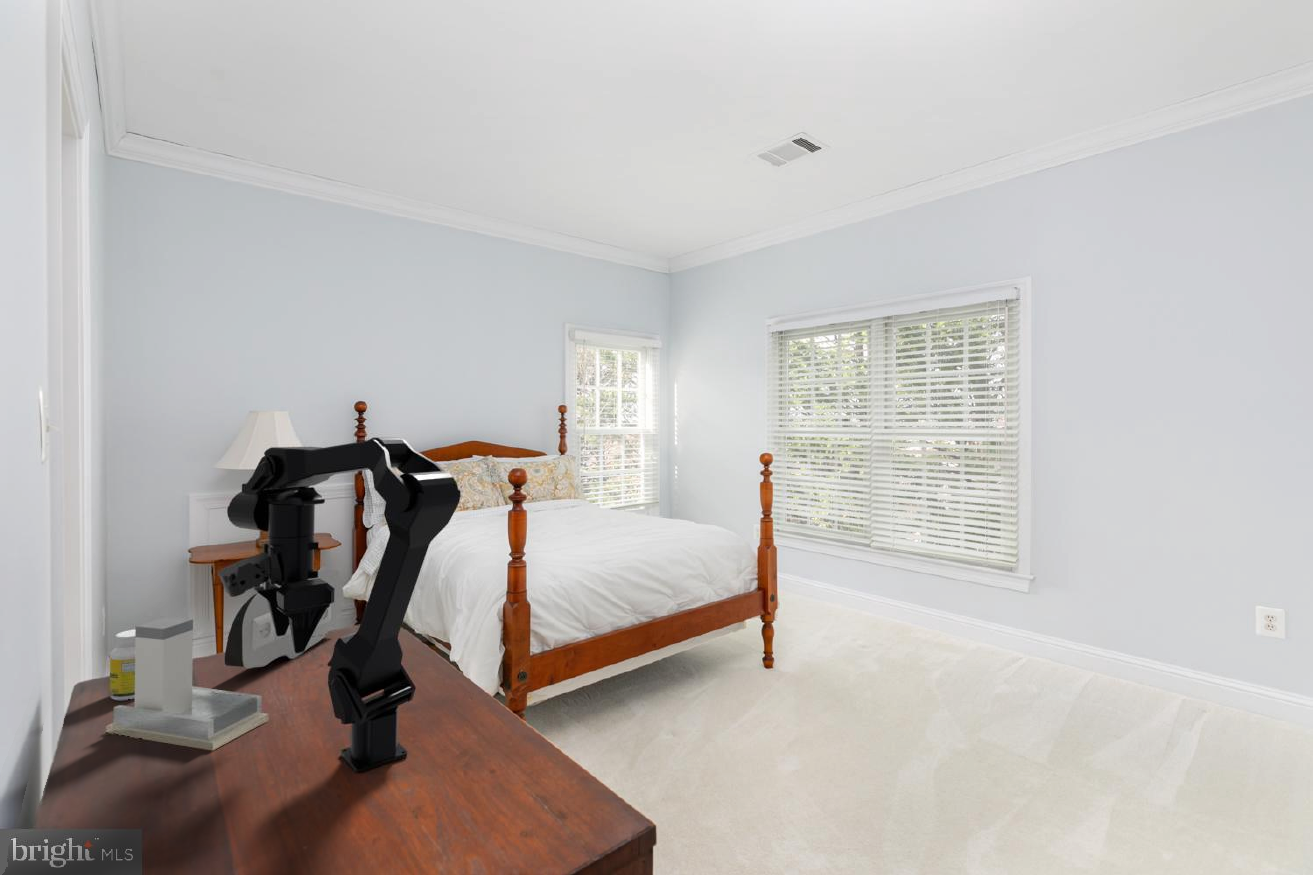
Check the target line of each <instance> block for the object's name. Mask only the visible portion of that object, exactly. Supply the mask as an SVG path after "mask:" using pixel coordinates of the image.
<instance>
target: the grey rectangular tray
mask: <svg viewBox="0 0 1313 875" xmlns="http://www.w3.org/2000/svg"><path fill="white" fill-rule="evenodd" d="M262 697H263V696H262V695H259V694H258V695H257V694H250V693H242V692H236V691H230V690H220V689H216V688H215V689H213V688H208V687H202V686H194V685H192V708H191V709H189V710H187V711H185V712H183V713H181V714H175V713H169V712H162V711H156V710H149V709H142V708H136V707H135V706H128V705H123V704H119V705H116V706H114V707H113V716H112V717H113V720H112V721H113V722H112V723H110V724H108V725H106V726H105V733H106V732H108V733H107V734H109V733H112V734H111V735H115V734H119V735H118V736H121V735H125V736H124V737H127V736H130V737H129V738H133V737H134V739H139V738H142V739H141V740H147V741H153V742H159V743H166V744H171V745H176V746H182V747H189V748H195V749H201V750H207V751H216V750H217V749H218V748H220V747H222V746H224V745H226V744H228V743H231V742H232V741H234V740H235V739H237V738H239V737H241V736H243V735H244V734H246V733H248V732H250V731H252V730H253V729H255V728H257V727H259V726H261V725H263V724H265V723H266V722H268V721H269V713H264V712H262V710H263V709H262V706H263V705H262V701H263V699H262ZM113 733H115V734H113ZM120 734H121V735H120Z"/></svg>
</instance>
